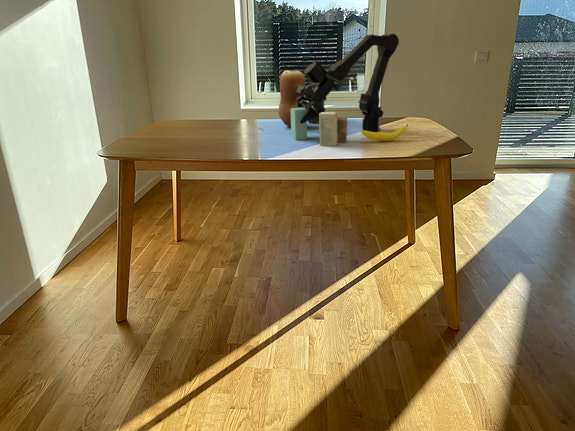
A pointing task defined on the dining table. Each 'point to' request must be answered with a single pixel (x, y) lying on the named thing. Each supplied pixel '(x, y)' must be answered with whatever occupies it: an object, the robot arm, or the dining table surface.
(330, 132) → the skincare box
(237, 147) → the dining table surface
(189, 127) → the dining table surface
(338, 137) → the walnut block
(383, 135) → the banana
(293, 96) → the butternut squash
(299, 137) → the teal block
